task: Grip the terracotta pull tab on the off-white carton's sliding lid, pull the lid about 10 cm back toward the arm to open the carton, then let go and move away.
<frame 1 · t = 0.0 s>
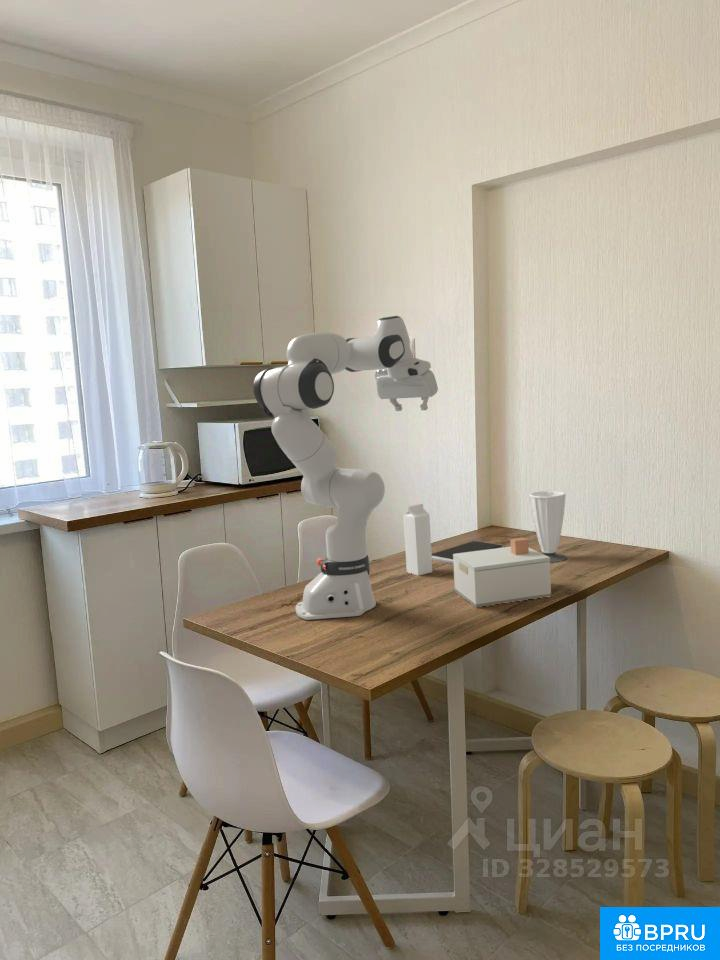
hand: (411, 410, 222), 52 cm above the table, tool tilted 20°, fingers open, 8 cm apart
milk: (419, 572, 229), on the table
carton: (501, 594, 201), on the table
lid: (499, 550, 199), point 13 cm above the table, slide at 0.0 cm
cup: (549, 558, 235), on the table
smartphone: (465, 555, 249), on the table
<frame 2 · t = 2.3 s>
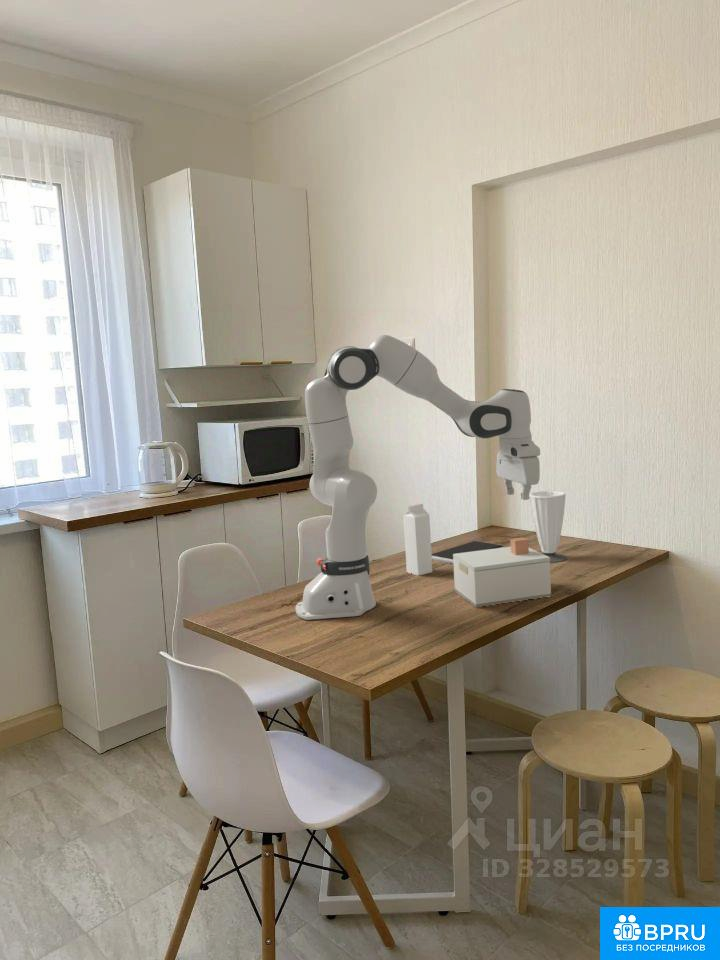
hand: (517, 496, 199), 27 cm above the table, tool pointing down, fingers open, 8 cm apart
nothing on the table moved.
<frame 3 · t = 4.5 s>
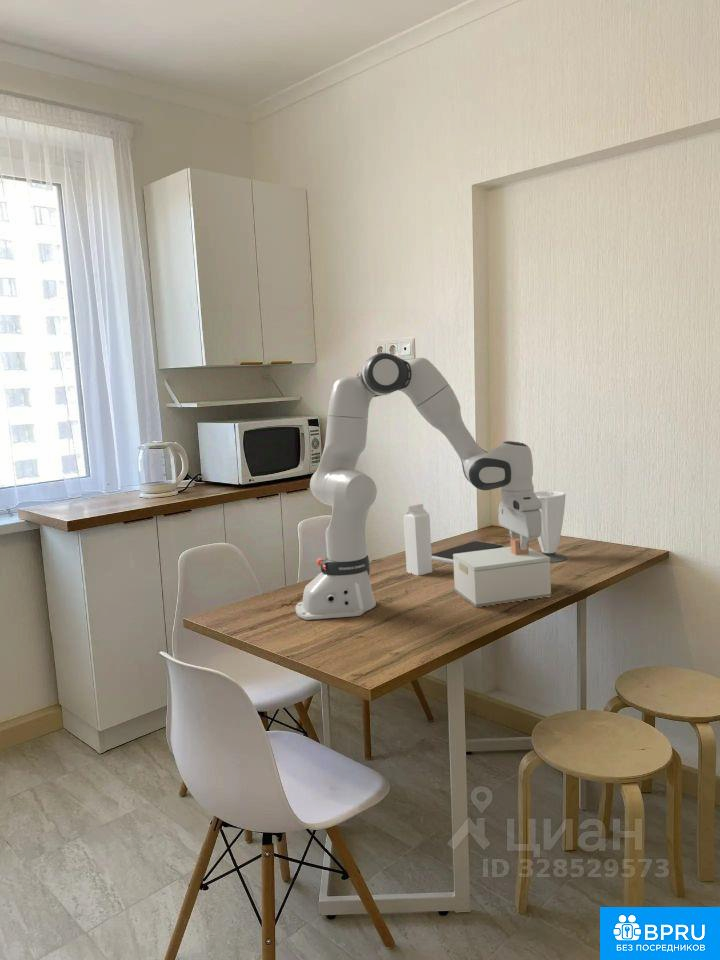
hand: (519, 547, 201), 13 cm above the table, tool pointing down, fingers closed on lid, 3 cm apart
lid: (499, 550, 199), point 13 cm above the table, slide at 0.0 cm, touching gripper
everything else where it was.
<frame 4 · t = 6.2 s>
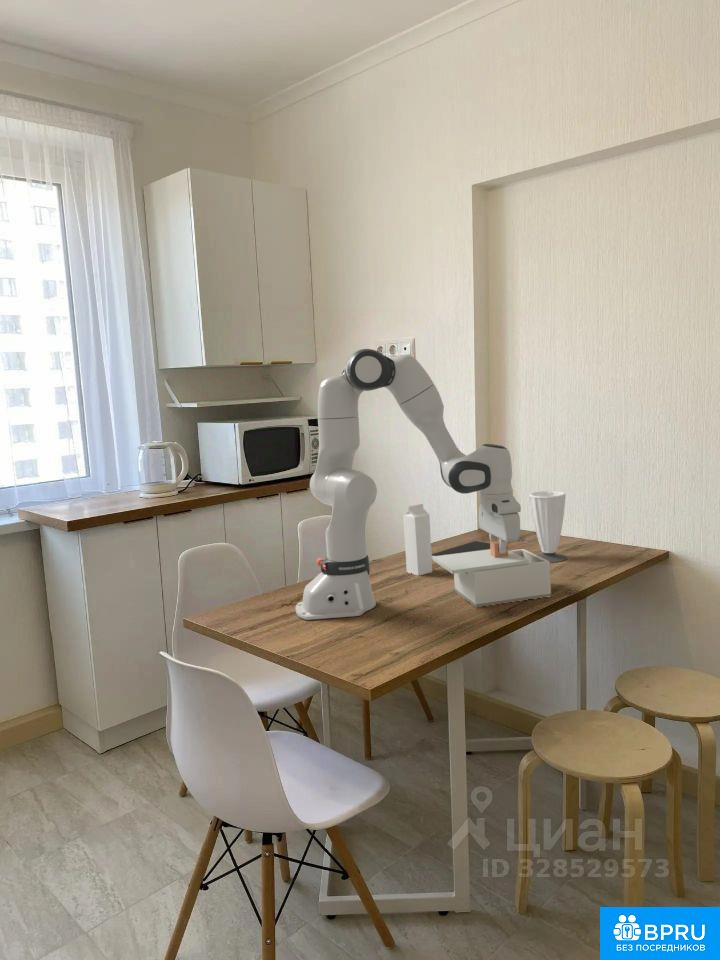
hand: (498, 550, 199), 13 cm above the table, tool pointing down, fingers closed on lid, 3 cm apart
lid: (479, 553, 198), point 13 cm above the table, slide at 6.2 cm, touching gripper
everything else where it was.
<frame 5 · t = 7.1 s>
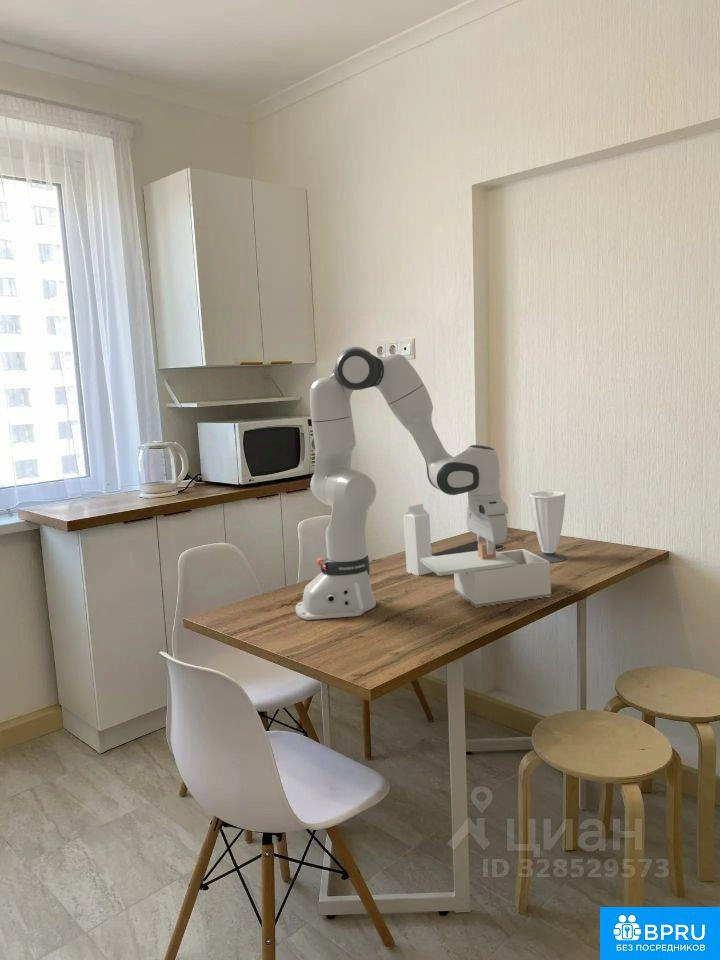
hand: (486, 552, 199), 13 cm above the table, tool pointing down, fingers closed on lid, 3 cm apart
lid: (466, 554, 197), point 13 cm above the table, slide at 9.9 cm, touching gripper
everything else where it was.
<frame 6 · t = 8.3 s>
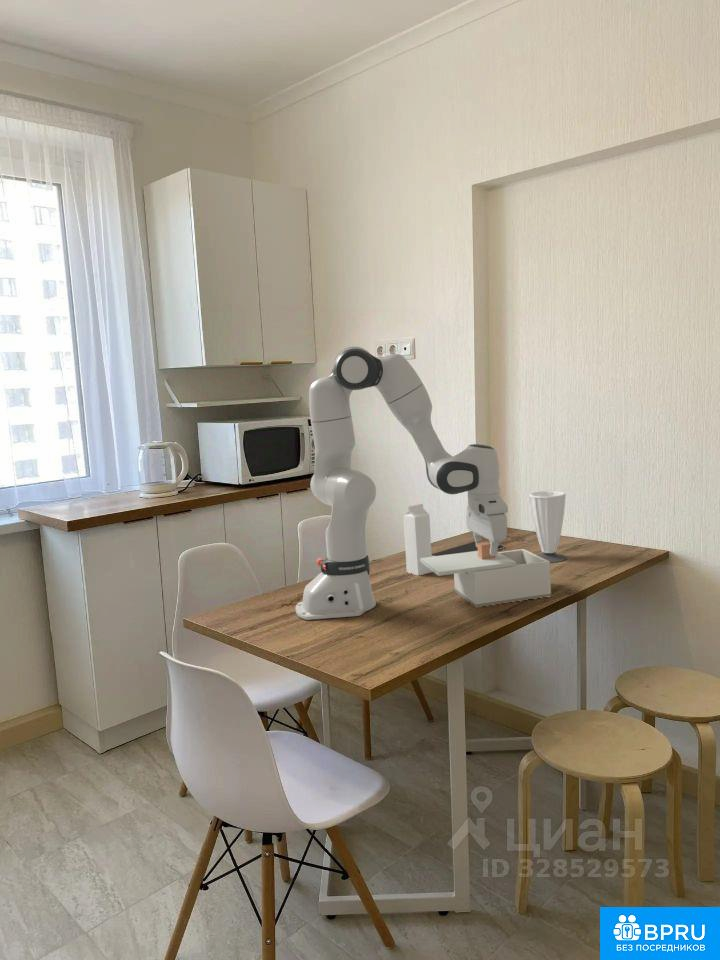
hand: (486, 551, 199), 13 cm above the table, tool pointing down, fingers open, 8 cm apart
lid: (466, 554, 197), point 13 cm above the table, slide at 10.0 cm
everything else where it was.
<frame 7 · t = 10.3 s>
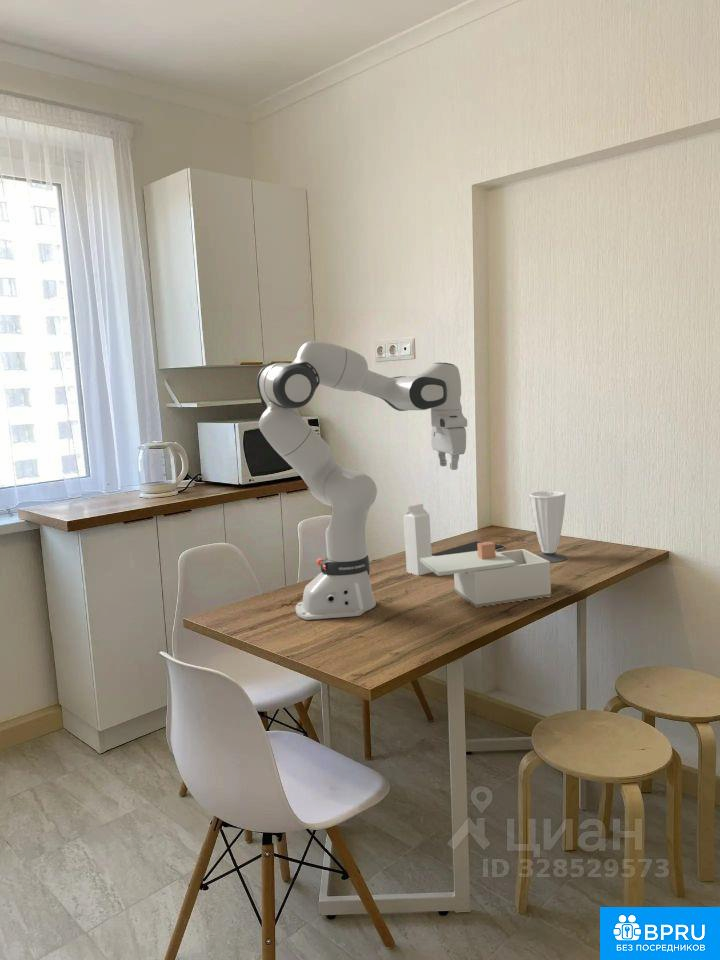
hand: (448, 467, 206), 36 cm above the table, tool pointing down, fingers open, 8 cm apart
nothing on the table moved.
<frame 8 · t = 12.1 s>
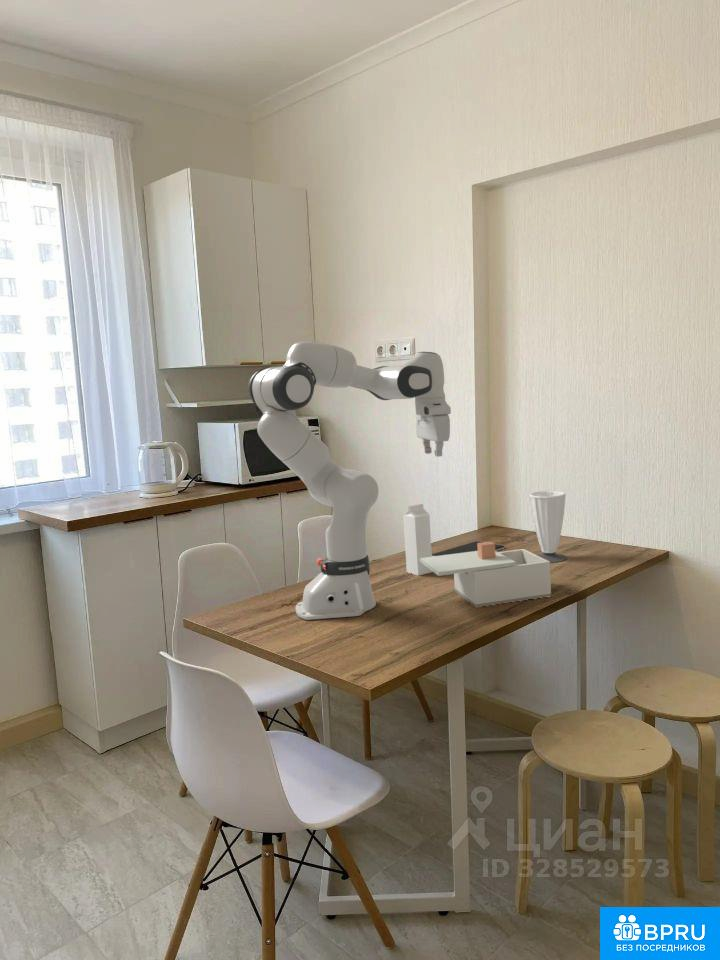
hand: (433, 454, 210), 39 cm above the table, tool pointing down, fingers open, 8 cm apart
nothing on the table moved.
at the end: lid slide at 10.0 cm; the gripper is holding nothing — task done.
